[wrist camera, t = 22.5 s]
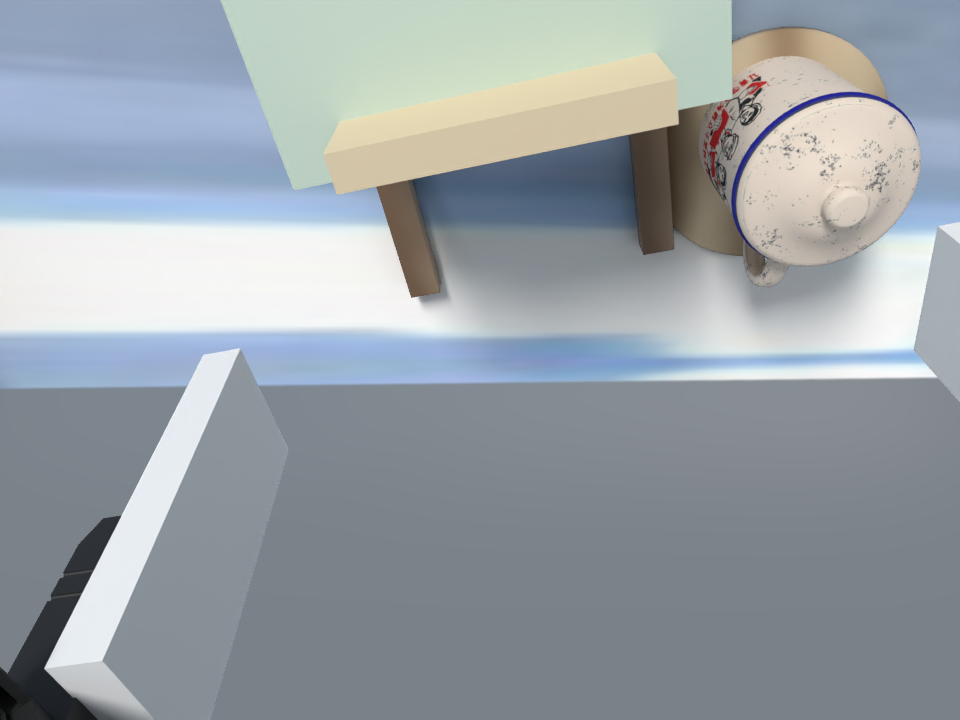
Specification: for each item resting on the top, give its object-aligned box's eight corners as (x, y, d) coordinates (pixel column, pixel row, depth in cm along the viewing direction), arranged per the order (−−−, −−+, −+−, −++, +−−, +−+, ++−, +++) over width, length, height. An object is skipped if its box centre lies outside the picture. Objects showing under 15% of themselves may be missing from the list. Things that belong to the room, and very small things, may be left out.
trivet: (657, 267, 50) (660, 272, 49) (641, 56, 41) (643, 60, 41) (870, 228, 48) (876, 233, 47) (896, 0, 40) (903, 3, 39)
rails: (413, 286, 50) (411, 297, 49) (242, -265, 33) (233, -269, 32) (669, 238, 48) (674, 249, 47) (628, -379, 31) (634, -388, 30)
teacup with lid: (717, 41, 40) (789, 103, 31) (874, 57, 41) (992, 123, 31) (664, 235, 47) (710, 335, 38) (799, 248, 48) (877, 348, 38)
